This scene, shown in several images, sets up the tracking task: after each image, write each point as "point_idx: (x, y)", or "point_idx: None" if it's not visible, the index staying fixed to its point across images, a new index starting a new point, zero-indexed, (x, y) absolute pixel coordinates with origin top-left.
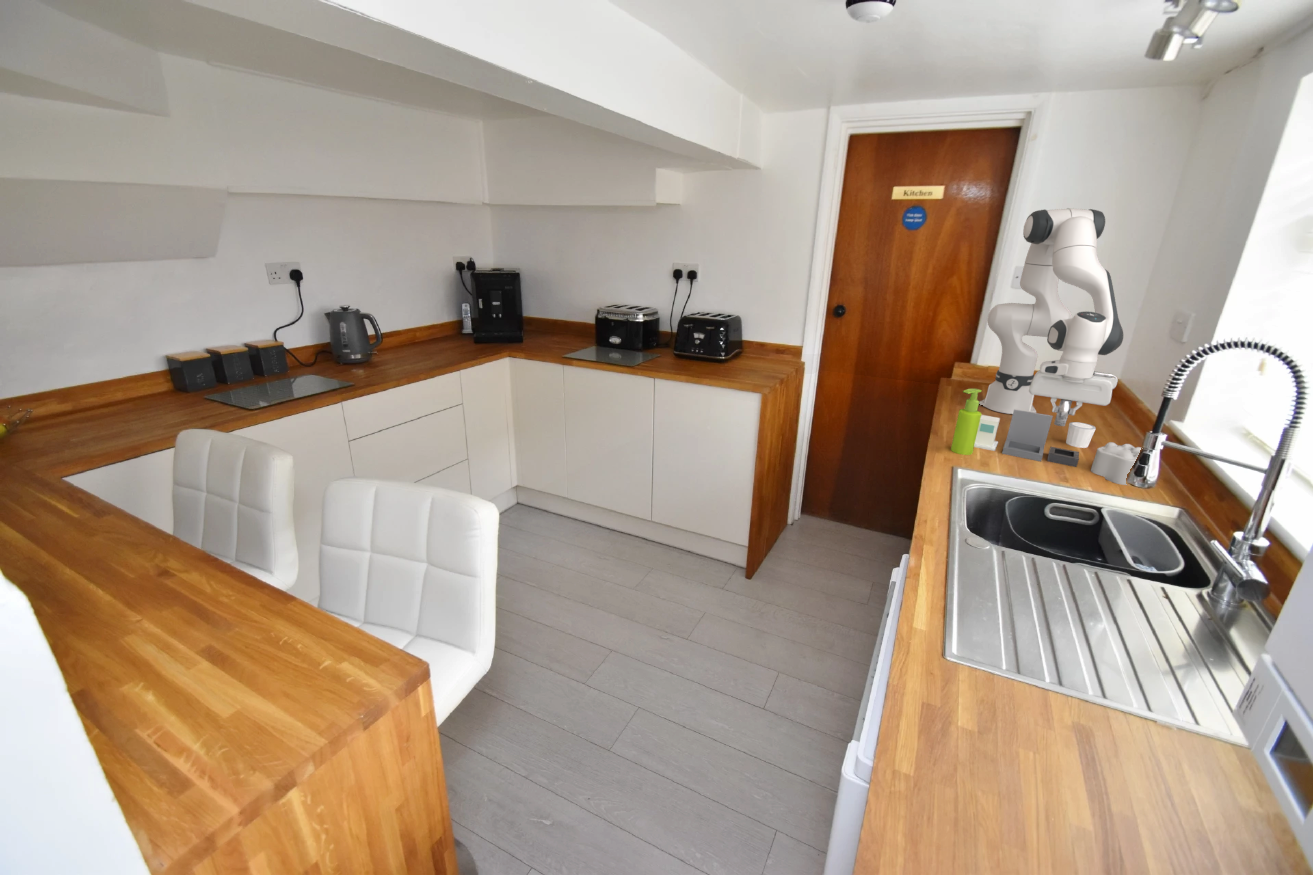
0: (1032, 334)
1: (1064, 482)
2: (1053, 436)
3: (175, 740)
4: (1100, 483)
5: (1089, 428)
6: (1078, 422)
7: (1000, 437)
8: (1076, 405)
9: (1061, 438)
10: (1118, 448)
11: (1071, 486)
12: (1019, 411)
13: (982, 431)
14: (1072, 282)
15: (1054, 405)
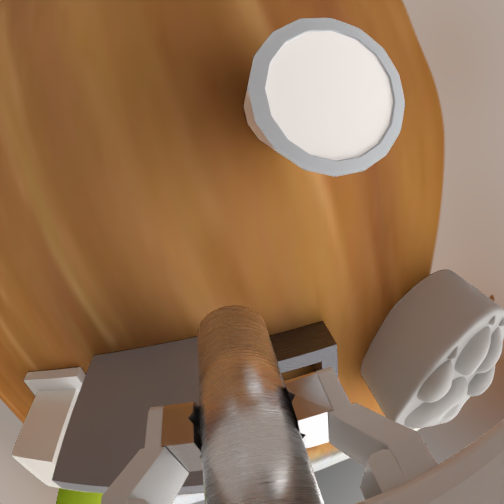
0: None
1: (311, 451)
2: (166, 35)
3: None
4: (375, 407)
5: (382, 141)
6: (295, 29)
7: (31, 274)
8: (363, 436)
9: (205, 35)
10: (443, 414)
11: (324, 454)
12: (81, 489)
13: None
14: None
15: (177, 485)
